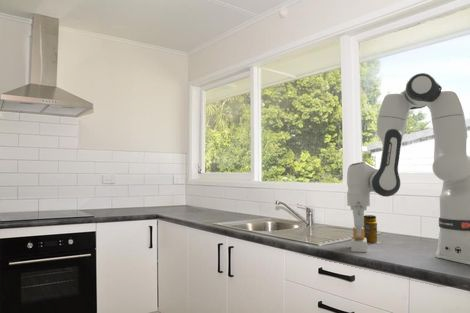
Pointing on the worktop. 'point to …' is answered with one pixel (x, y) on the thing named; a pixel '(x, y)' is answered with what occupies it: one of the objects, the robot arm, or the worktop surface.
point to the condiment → (370, 229)
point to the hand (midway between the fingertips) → (358, 235)
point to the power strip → (358, 244)
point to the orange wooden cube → (356, 233)
